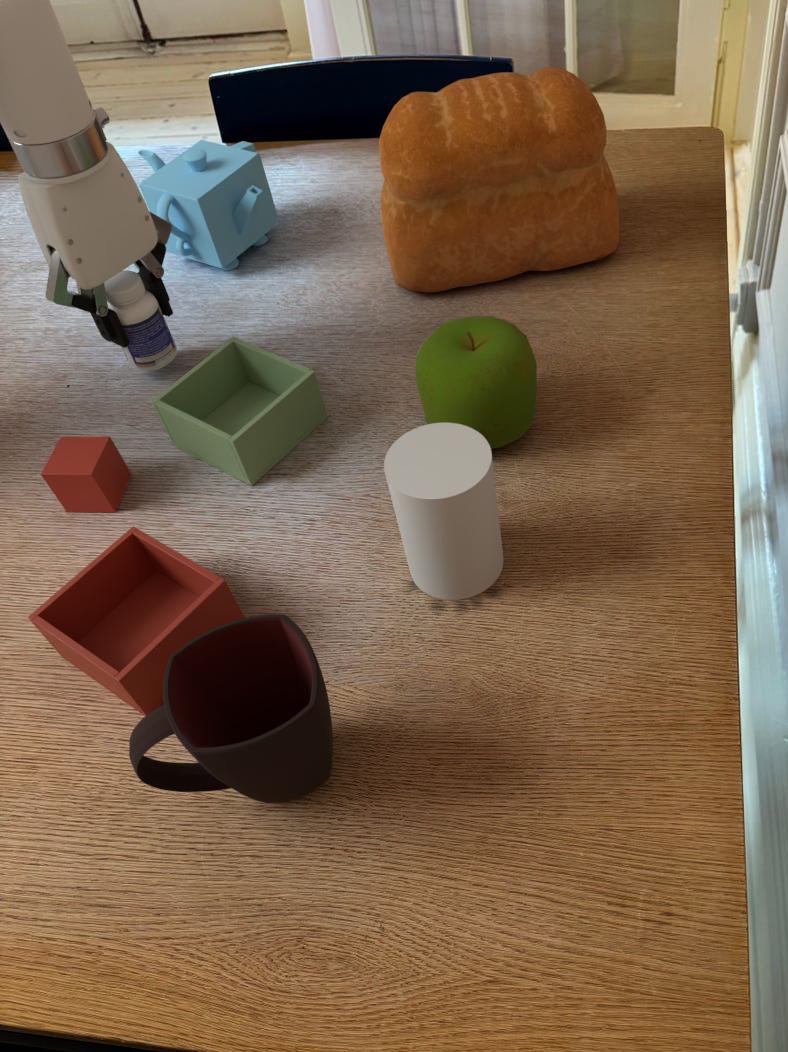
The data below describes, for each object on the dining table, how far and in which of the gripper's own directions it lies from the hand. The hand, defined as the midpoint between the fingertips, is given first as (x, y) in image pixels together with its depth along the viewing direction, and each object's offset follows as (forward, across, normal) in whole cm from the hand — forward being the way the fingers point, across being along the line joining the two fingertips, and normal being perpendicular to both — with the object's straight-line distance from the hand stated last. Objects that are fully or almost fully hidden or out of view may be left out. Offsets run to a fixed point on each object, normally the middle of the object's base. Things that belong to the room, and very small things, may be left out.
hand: (139, 325), depth 91 cm
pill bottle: (+4, 0, 0) cm, 4 cm away
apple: (+5, -10, +36) cm, 38 cm away
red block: (+5, +16, +10) cm, 20 cm away
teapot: (+5, -21, -10) cm, 24 cm away
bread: (+4, -36, +20) cm, 41 cm away
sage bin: (+5, +2, +16) cm, 17 cm away
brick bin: (+5, +25, +28) cm, 38 cm away
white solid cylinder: (+5, +5, +44) cm, 45 cm away
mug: (+5, +29, +44) cm, 54 cm away
